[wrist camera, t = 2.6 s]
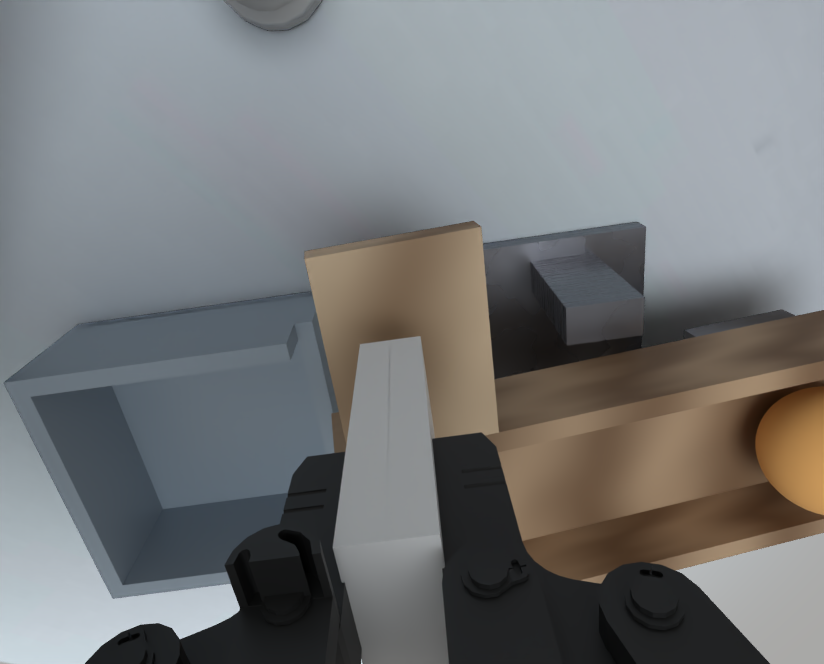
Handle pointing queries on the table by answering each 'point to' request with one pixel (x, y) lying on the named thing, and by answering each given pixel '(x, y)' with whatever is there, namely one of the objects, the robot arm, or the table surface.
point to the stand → (565, 297)
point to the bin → (179, 432)
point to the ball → (795, 447)
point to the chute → (583, 409)
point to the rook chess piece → (274, 12)
